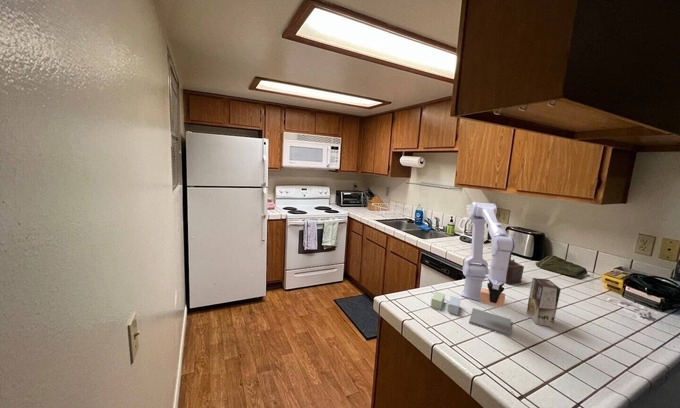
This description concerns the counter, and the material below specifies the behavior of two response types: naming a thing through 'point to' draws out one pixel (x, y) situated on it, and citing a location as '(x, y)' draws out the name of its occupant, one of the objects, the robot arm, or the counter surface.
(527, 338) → the counter surface
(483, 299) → the terracotta brick
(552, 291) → the coffee box
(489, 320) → the slate mat
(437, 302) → the sage brick
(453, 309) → the blue brick
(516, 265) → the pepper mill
